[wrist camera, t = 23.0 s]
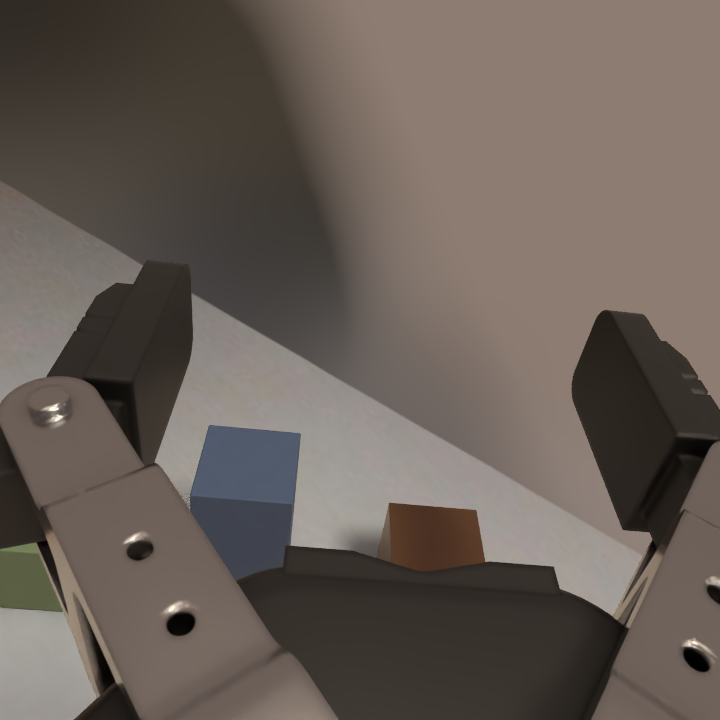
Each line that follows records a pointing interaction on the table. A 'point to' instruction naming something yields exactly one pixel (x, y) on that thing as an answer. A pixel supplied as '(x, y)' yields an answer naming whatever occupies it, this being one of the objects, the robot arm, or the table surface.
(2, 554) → the block
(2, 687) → the table surface
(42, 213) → the table surface
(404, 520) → the block
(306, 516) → the table surface
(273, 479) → the tall block
